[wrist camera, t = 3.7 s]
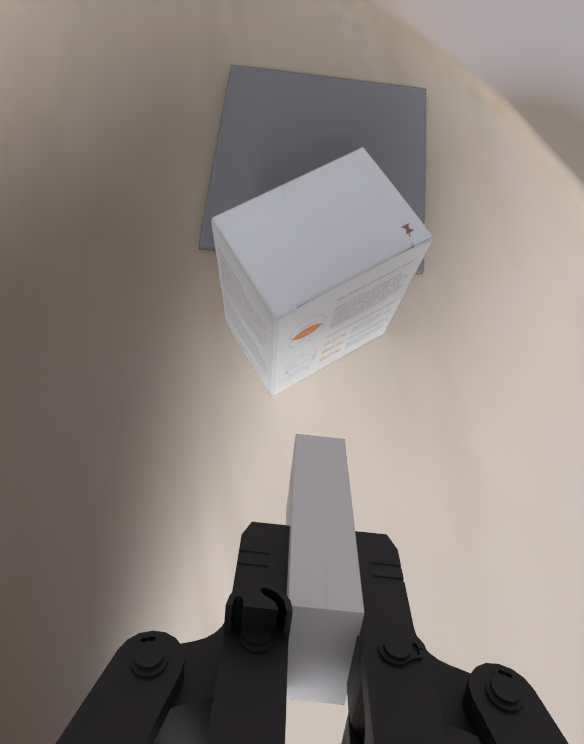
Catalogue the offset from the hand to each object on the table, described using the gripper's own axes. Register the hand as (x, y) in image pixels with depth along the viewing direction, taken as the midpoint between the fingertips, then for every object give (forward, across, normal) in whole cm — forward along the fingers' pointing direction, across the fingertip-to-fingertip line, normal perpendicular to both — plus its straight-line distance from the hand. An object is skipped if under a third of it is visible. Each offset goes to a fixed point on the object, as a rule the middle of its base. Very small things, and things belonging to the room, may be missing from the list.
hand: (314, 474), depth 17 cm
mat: (+25, 0, +8) cm, 26 cm away
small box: (+17, 0, -1) cm, 17 cm away
